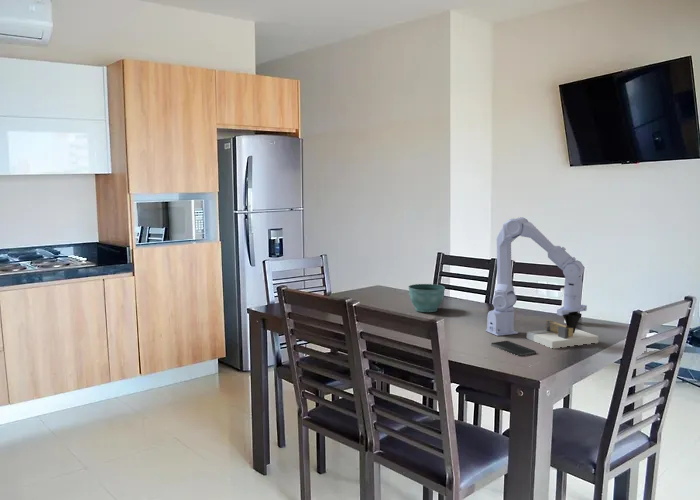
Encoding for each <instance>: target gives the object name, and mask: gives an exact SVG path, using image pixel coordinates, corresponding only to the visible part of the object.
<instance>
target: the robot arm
mask: <svg viewBox="0 0 700 500" xmlns="http://www.w3.org/2000/svg"><path fill="white" fill-rule="evenodd" d="M518 237H522V238H523V237H524V238H528V239H529V238H530V239H531V240H532V241H534V242H535V244H537V245H538V246H539V247H541V248H542V249H543V250H544V251H545V252H547V258H548V259H549V260H550V261H552V262H553V264H554V265H556V266H557V267H558V268H559V269H560V270H561V271H562V273H563V275H564V287H563V288H564V293H563V296H564V306H563V307H562V308H560V307H559V308H557V309H556V316H561V317H563V319H564V320H565V321H566V323H565V324H566V326H569V327H572V328H573V333H574V332H575V329H577V325H578V322H579V321H580V319H581V318H582V316H583V315H582V312H587V310H588V308H587V307H588V305H587V304H582V291H583V289H582V288H583V283H582V282H583V280H582V279H583V276H582V275H583V274H584V272H585V266H584V264H583V263H582V261H580V260H576V259H577V258H575V257H574V256H572V255H570V253H568V252H567V251H566V247H564V246H561V245H554V244H553V243H552V242H551V241H550V240H549V239H548V238H547V237H546V236H545V235H544V234H543V233H542V232H541V231H540V230H539V229H538V228H537V226H535V225H534V224H533V223H532V222H531V221H529V220H528V219H526V218H525V217H517V218H514V217H513V218H509V219H508V220H507V221H506V222H504V223H503V224H502V228H501V229H500V232H499V233H498V234H497V236H496V272H497V275H496V278H497V279H496V282H497V284H496V287H495V289H494V296H493V297H492V306H493V308H494V309H493V310H489V311H488V313H487V319H486V321H487V322H486V329H485V332H488V333H490V334H493V335H495V336H497V337H500V336H508V335H517V334H519V332H518V331H516V330H514V326H515V325H514V322H515V320H514V319H515V308H514V305H515V304H516V303H517V296H516V295H517V294H515V288H514V286H513V283H512V282H513V281H512V279H513V277H512V272H513V271H512V243H513V242H514V241H516V239H518ZM579 312H580V313H579Z"/></svg>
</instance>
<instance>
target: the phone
mask: <svg viewBox="0 0 700 500" xmlns="http://www.w3.org/2000/svg"><path fill="white" fill-rule="evenodd" d="M490 346H491V347H494V348H497V349H498V348H499V350H501V351H503V350H504V352H506V351H507V352H506V353H508V352H509V354H511V353H512V354H511V355H514V354H515V355H514V356H516V355H518V356H517V357H525V356H524V355H527V356H531V354H533V355H536V354H537V351H536V350H534V349H532V348H530V347H529V348H528V347H525V346H523V345H520V344H518V343H515V342H513V341H509V340H503V341H502V340H501V341H496V342H491V345H490Z"/></svg>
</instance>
